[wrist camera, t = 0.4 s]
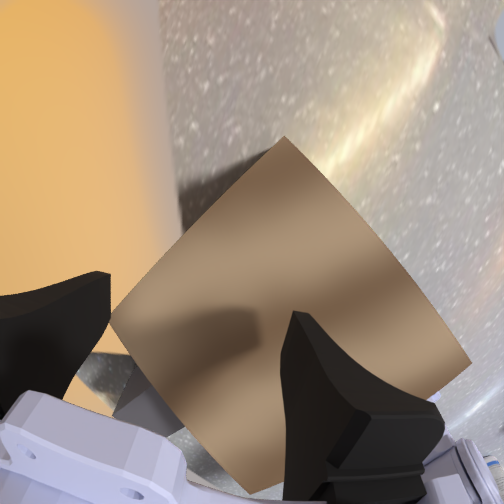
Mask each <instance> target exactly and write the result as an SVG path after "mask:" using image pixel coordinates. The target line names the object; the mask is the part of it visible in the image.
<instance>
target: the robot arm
mask: <svg viewBox="0 0 504 504" xmlns="http://www.w3.org/2000/svg"><path fill="white" fill-rule="evenodd" d="M110 277H111V274H108V273H104V272H100V271H94V272H90V273H86V274H83V275H80V276H77V277H74V278H72V279H68V280H65V281H63V282H60V283H57V284H53V285H50V286H47V287H44V288H40V289H37V290H33V291H28V292H23V293H18V294H13V295H4V296H0V504H504V503H503V501H502V499H501V496H500V494H499V489H498V487H497V484H496V482H495V480H494V477H493V475H492V473H491V471H490V469H489V467H488V466H487V464H486V462H485V460H484V458H483V456H482V455H481V453H480V451H479V450H478V448H477V447H476V445H475V444H474V442H473V441H472V440H469V439H466V440H465V439H464V438H461V439H459V440H458V441H457V442H455V441H454V440H453V438H452V436H451V434H450V432H449V430H448V428H447V426H446V424H445V422H444V420H443V418H442V416H441V414H440V412H439V410H438V409H437V407H436V405H435V403H434V402H435V401H437V400H438V399H439V398H440V397H441V394H440V392H439V391H438V392H436V393H435V394H434V395H432V396H431V397H430V398H428V399H427V400H425V399H422V398H419V397H416V396H414V395H411V394H409V393H407V392H405V391H402V390H400V389H398V388H396V387H394V386H392V385H391V384H389V383H387V382H385V381H383V380H382V379H380V378H379V377H377V376H375V375H374V374H372V373H371V372H369V371H368V370H367V369H365V368H364V367H363V366H361V365H360V364H359V363H357V362H356V361H355V360H354V359H353V358H351V357H350V356H349V355H348V354H347V353H346V352H345V351H344V350H343V349H342V348H341V347H339V345H338V344H337V343H336V342H335V341H334V340H333V339H332V338H331V337H330V336H329V335H328V334H327V333H326V332H325V331H324V329H323V328H322V327H321V326H320V325H319V324H318V323H317V321H316V320H315V319H314V318H313V317H312V316H311V315H310V314H309V313H306V312H300V311H294V310H293V312H292V316H291V319H290V323H289V326H288V329H287V333H286V336H285V340H284V343H283V346H282V350H281V353H280V379H281V388H282V397H283V405H284V413H285V424H286V449H285V473H284V488H283V499H282V501H280V500H264V499H252V498H244V497H240V496H236V495H233V494H229V493H226V492H222V491H219V490H216V489H213V488H210V487H206V486H203V485H201V484H198V483H195V482H192V481H189V480H187V479H186V469H187V463H186V460H185V458H184V455H183V453H182V451H181V450H180V449H179V448H178V447H177V446H176V445H174V444H173V443H172V442H170V441H169V440H168V439H167V438H165V437H164V436H163V435H161V434H158V433H156V432H153V431H151V430H148V429H146V428H144V427H141V426H138V425H135V424H131V423H128V422H124V421H121V420H118V419H114V418H111V417H108V416H105V415H102V414H99V413H96V412H93V411H90V410H87V409H85V408H82V407H79V406H76V405H74V404H71V403H68V402H66V401H63V400H62V399H63V397H64V394H65V393H66V391H67V389H68V387H69V384H70V383H71V381H72V379H73V377H74V376H75V374H76V372H77V371H78V370H79V368H80V367H81V365H82V364H83V362H84V361H85V359H86V358H87V357H88V355H89V354H90V352H91V351H92V350H93V348H94V347H95V345H96V344H97V342H98V341H99V340H100V338H101V337H102V335H103V333H104V331H105V329H106V327H107V325H108V323H109V321H110V319H111V299H110V298H111V291H110V290H111V283H110V282H111V280H110V279H111V278H110Z"/></svg>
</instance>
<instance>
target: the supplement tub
mask: <svg viewBox="0 0 504 504" xmlns="http://www.w3.org/2000/svg"><path fill="white" fill-rule="evenodd" d="M484 460H485V462H486V464H487V466H488V467H489V469H490V471H491V473H492V475H493V477H494V480H495V482H496V484H497V487H498V489H499V494H500V496H501V499H502V501H503V503H504V472H503V470H502V468H501V466H500V464H499V462H498V460H497V459H496V457H494V456H487V457H484Z"/></svg>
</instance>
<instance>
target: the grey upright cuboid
mask: <svg viewBox="0 0 504 504" xmlns="http://www.w3.org/2000/svg"><path fill="white" fill-rule="evenodd" d="M112 416H113V417H114V418H116V419H118V420H121V421H124V422H128V423H131V424H135V425H138V426H141V427H144V428H146V429H148V430H151V431H153V432H156V433H158V434H161V435H163V436H164V437H165V438H166V437H168V436H169V435H171V434H173V433H175V432H176V431H178V430H180V429H182V428H183V427H185V425H184V424H183V423H182V422H181V421H180V419H179V418H178V417H177V416H176V415H175V413H174V412H173V411H172V410H171V408H170V407H169V406H168V405H167V403H166V402H165V401H164V400H163V398H162V397H161V396H160V395H159V393H158V392H157V391H156V389H155V388H154V387H153V385H152V384H151V383H150V381H149V380H148V379H147V377H146V376H145V375H144V373H143V372H142V371H141V369H140V368H139V366H138V365H137V366H136V367H135V368H134V370H133V372H132V374H131V376H130V378H129V380H128V383H127V385H126V387H125V389H124V391H123V393H122V395H121V397H120V399H119V402H118V404H117V406H116V408H115V410H114V412H113V415H112Z"/></svg>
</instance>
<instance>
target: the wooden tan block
mask: <svg viewBox="0 0 504 504" xmlns="http://www.w3.org/2000/svg"><path fill="white" fill-rule="evenodd" d="M293 310H294V311H300V312H306V313H309V314H310V315H311V316H312V317H313V318H314V319H315V320H316V321H317V323H318V324H319V325H320V326H321V327H322V328H323V329H324V331H325V332H326V333H327V334H328V335H329V336H330V337H331V338H332V339H333V340H334V341H335V342H336V343H337V344H338V345H339V347H341V348H342V349H343V350H344V351H345V352H346V353H347V354H348V355H349V356H350V357H351V358H353V359H354V360H355V361H356V362H357V363H359V364H360V365H361V366H363V367H364V368H365V369H367V370H368V371H369V372H371V373H372V374H374V375H375V376H377V377H379V378H380V379H382V380H383V381H385V382H387V383H389V384H391V385H392V386H394V387H396V388H398V389H400V390H402V391H405V392H407V393H409V394H411V395H414V396H416V397H419V398H422V399H425V400H427V399H428V398H430V397H431V396H432V395H434V394H435V393H436V392H438V391H439V390H440V389H442V388H443V387H444V386H445V385H447V384H448V383H449V382H450V381H452V380H453V379H454V378H455V377H456V376H458V375H459V374H460V373H461V372H462V371H464V370H465V369H466V368H467V367H468V366H469V365H471V364H472V362H471V361H470V359H469V357H468V356H467V354H466V353H465V351H464V350H463V348H462V347H461V345H460V344H459V342H458V341H457V339H456V338H455V337H454V335H453V334H452V332H451V331H450V329H449V328H448V326H447V325H446V324H445V322H444V321H443V319H442V318H441V317H440V315H439V314H438V312H437V311H436V310H435V308H434V307H433V305H432V304H431V303H430V301H429V300H428V299H427V297H426V296H425V295H424V293H423V292H422V291H421V289H420V288H419V287H418V285H417V284H416V283H415V282H414V280H413V279H412V278H411V276H410V275H409V274H408V272H407V271H406V270H405V269H404V267H403V266H402V265H401V264H400V262H399V261H398V260H397V259H396V257H395V256H394V255H393V254H392V252H391V251H390V250H389V249H388V248H387V246H386V245H385V244H384V243H383V242H382V240H381V239H380V238H379V237H378V236H377V234H376V233H375V232H374V231H373V230H372V229H371V227H370V226H369V225H368V224H367V223H366V222H365V220H364V219H363V218H362V217H361V216H360V215H359V214H358V212H357V211H356V210H355V209H354V208H353V207H352V206H351V205H350V203H349V202H348V201H347V200H346V199H345V198H344V197H343V196H342V195H341V194H340V192H339V191H338V190H337V189H336V188H335V187H334V186H333V185H332V184H331V183H330V182H329V181H328V180H327V178H326V177H325V176H324V175H323V174H322V173H321V172H320V171H319V170H318V169H317V168H316V167H315V166H314V165H313V164H312V163H311V162H310V161H309V160H308V159H307V158H306V157H305V156H304V155H303V154H302V153H301V152H300V151H299V150H298V149H297V148H296V147H295V146H294V145H293V144H292V143H291V142H290V141H289V140H288V139H287V138H286V137H285V136H284V137H282V138H281V139H280V140H279V141H278V142H277V143H276V144H275V145H274V146H273V147H272V148H271V149H270V150H268V151H267V152H266V153H265V154H264V155H263V156H262V157H261V158H260V159H259V160H258V161H257V162H256V163H255V164H254V165H253V166H252V167H251V168H250V169H248V170H247V171H246V172H245V173H244V174H243V175H242V176H241V177H240V178H239V179H238V180H237V181H236V182H235V183H234V184H233V185H232V186H231V187H230V188H229V189H228V190H227V191H226V192H225V193H224V194H223V195H222V196H221V197H220V198H219V199H218V200H217V201H216V202H215V203H214V204H213V205H212V206H211V207H210V208H209V209H208V210H207V211H206V212H205V213H204V214H203V215H202V216H201V217H200V218H199V219H198V220H197V221H196V222H195V223H194V224H193V225H192V226H191V227H190V228H189V229H188V230H187V231H186V232H185V233H184V234H183V236H182V237H181V238H180V239H179V240H178V241H177V242H176V243H175V244H174V245H173V246H172V247H171V249H169V250H168V251H167V252H166V253H165V254H164V256H163V257H162V258H161V259H160V260H159V261H158V262H157V263H156V264H155V265H154V266H153V267H152V268H151V270H150V271H149V272H148V273H147V274H146V275H145V276H144V277H143V278H142V279H141V280H140V282H139V283H138V284H137V285H136V286H135V287H134V288H133V289H132V291H130V293H129V294H128V295H127V296H126V297H125V298H124V299H123V300H122V302H121V303H120V304H119V305H118V306H117V307H116V309H114V311H113V312H112V313H111V319H110V321H109V323H110V325H111V326H112V328H113V330H114V331H115V333H116V334H117V336H118V337H119V339H120V340H121V342H122V343H123V345H124V346H125V348H126V349H127V351H128V352H129V354H130V355H131V356H132V358H133V359H134V361H135V362H136V364H137V365H138V366H139V368H140V369H141V371H142V372H143V373H144V375H145V376H146V377H147V379H148V380H149V381H150V383H151V384H152V385H153V387H154V388H155V389H156V391H157V392H158V393H159V395H160V396H161V397H162V398H163V400H164V401H165V402H166V403H167V405H168V406H169V407H170V408H171V410H172V411H173V412H174V413H175V415H176V416H177V417H178V418H179V419H180V421H181V422H182V423H183V424H184V425H185V427H186V428H187V429H188V430H189V431H190V432H191V434H192V435H193V436H194V437H195V438H196V439H197V440H198V442H199V443H200V444H201V445H202V446H203V447H204V448H205V449H206V450H207V452H208V453H209V454H210V455H211V456H212V457H213V458H214V459H215V460H216V461H217V462H218V463H219V464H220V465H221V466H222V468H223V469H224V470H225V471H226V472H227V473H228V474H229V475H230V476H231V477H232V478H233V479H234V480H235V481H236V482H237V483H238V484H239V485H240V486H241V487H242V488H243V489H244V490H246V491H247V492H248V493H249V494H250V495H251V494H253V493H256V492H259V491H261V490H264V489H266V488H269V487H272V486H274V485H276V484H279V483H281V482H284V473H285V449H286V424H285V413H284V405H283V397H282V388H281V379H280V353H281V350H282V346H283V343H284V340H285V336H286V333H287V329H288V326H289V323H290V319H291V316H292V312H293Z"/></svg>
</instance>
